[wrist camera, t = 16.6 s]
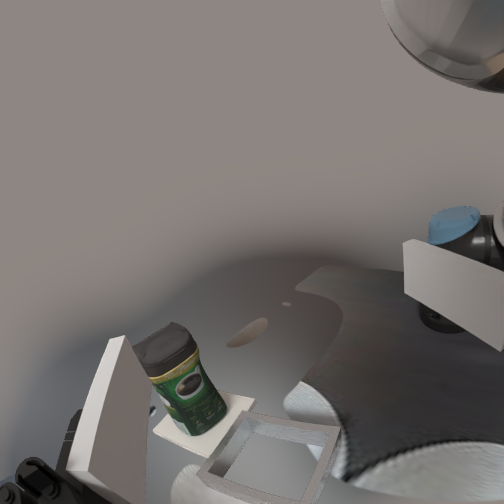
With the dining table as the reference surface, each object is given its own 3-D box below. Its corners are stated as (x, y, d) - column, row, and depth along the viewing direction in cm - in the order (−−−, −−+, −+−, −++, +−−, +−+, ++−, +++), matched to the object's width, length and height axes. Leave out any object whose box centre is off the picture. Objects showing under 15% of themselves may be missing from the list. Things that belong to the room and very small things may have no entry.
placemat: (196, 386, 51) (194, 383, 50) (256, 402, 44) (255, 398, 43) (155, 433, 39) (152, 430, 39) (216, 461, 32) (214, 459, 32)
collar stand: (249, 425, 39) (242, 410, 37) (341, 441, 31) (340, 426, 30) (207, 486, 28) (195, 474, 26) (309, 518, 20) (306, 511, 19)
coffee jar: (207, 393, 47) (170, 313, 42) (235, 410, 41) (198, 325, 36) (169, 422, 41) (119, 343, 35) (194, 444, 35) (140, 363, 30)
